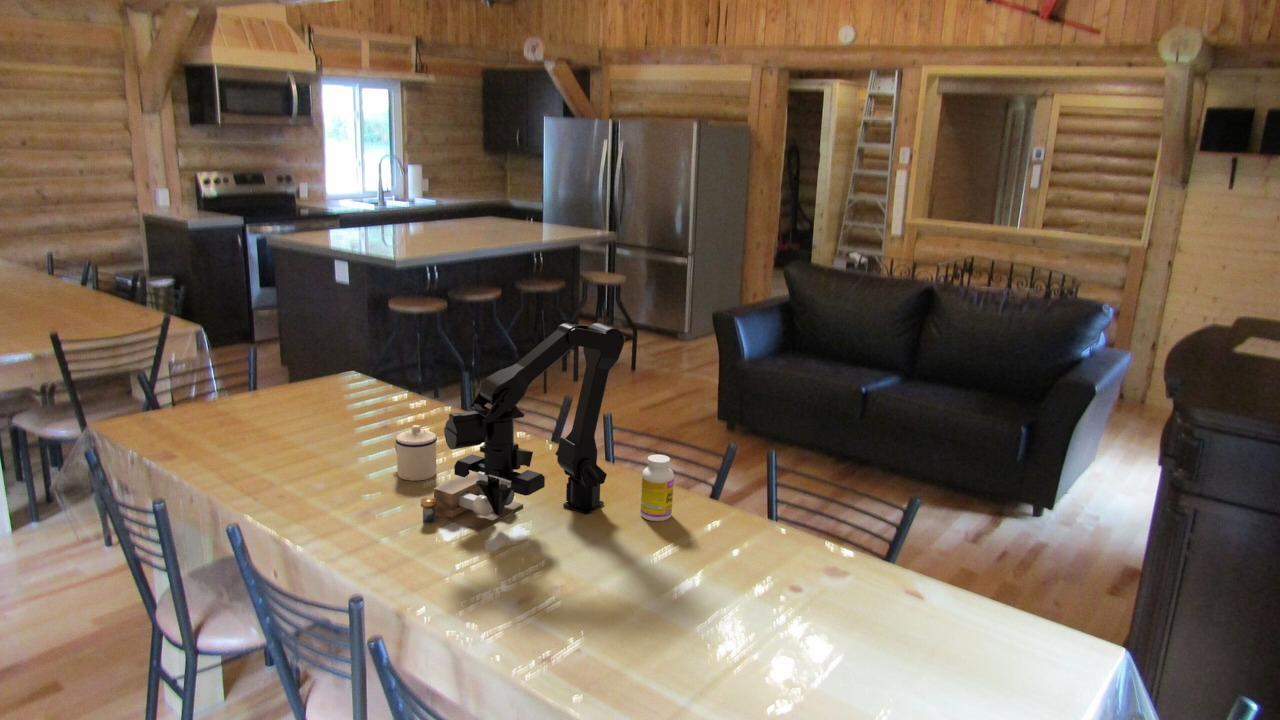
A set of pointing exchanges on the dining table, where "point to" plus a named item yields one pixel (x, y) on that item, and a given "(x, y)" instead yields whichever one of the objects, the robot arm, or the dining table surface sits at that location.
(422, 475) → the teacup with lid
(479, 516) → the walnut mount
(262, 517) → the dining table surface
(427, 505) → the copper domed knob
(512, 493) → the graphite knob
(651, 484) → the supplement bottle
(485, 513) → the cream knob
